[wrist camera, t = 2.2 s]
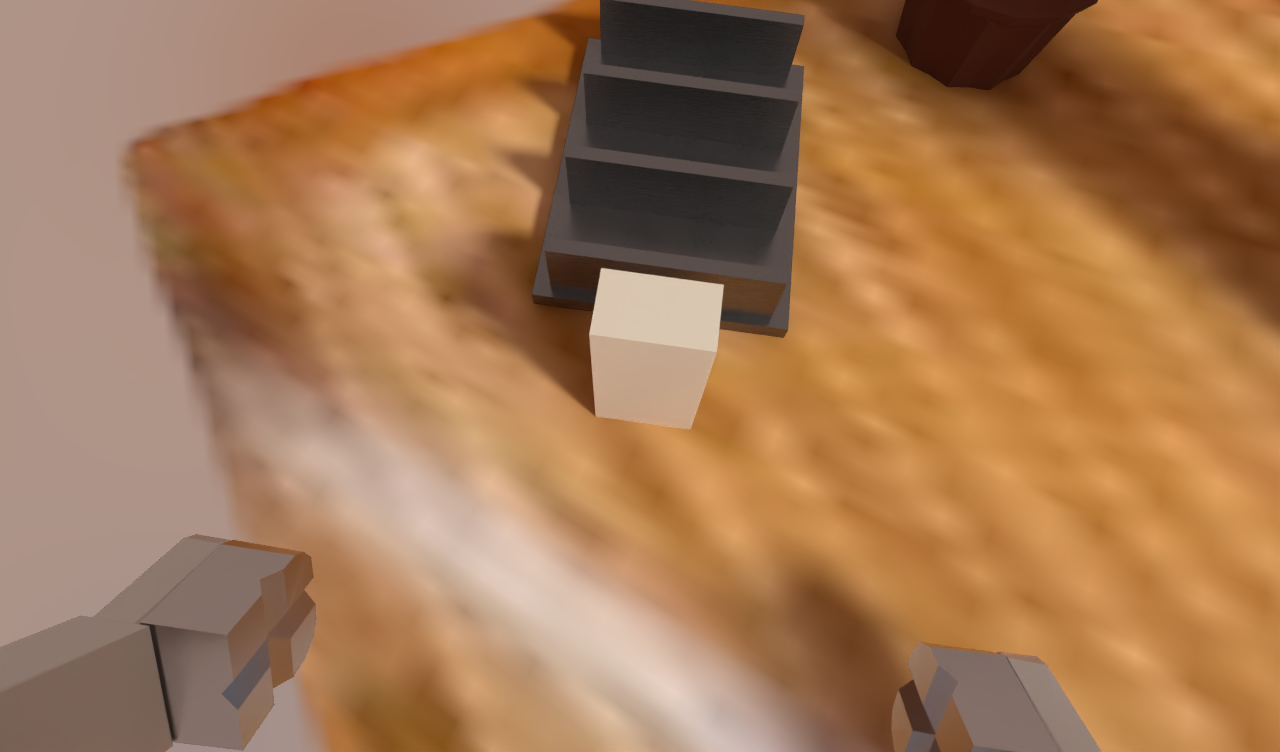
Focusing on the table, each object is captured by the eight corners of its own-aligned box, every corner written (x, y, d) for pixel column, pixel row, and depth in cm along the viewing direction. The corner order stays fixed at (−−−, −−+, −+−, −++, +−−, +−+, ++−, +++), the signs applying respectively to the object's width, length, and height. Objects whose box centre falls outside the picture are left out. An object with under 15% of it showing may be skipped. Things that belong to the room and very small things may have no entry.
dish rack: (589, 50, 45) (586, -19, 41) (800, 78, 45) (821, 12, 40) (533, 303, 38) (522, 255, 34) (783, 337, 38) (807, 293, 33)
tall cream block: (604, 364, 37) (601, 268, 28) (696, 376, 37) (724, 284, 28) (595, 416, 36) (589, 334, 27) (690, 429, 36) (716, 351, 27)
